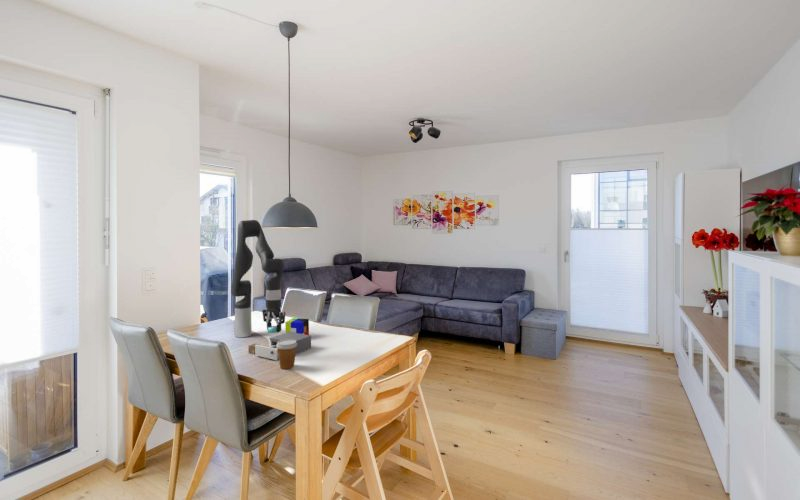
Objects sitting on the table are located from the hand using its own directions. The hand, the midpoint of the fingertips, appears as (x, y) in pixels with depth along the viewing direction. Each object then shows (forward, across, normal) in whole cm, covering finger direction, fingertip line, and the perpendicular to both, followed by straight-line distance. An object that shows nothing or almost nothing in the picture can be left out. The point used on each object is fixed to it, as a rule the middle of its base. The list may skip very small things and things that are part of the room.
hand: (274, 330), depth 202 cm
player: (+13, 0, +12) cm, 17 cm away
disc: (0, 0, 0) cm, 0 cm away
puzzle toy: (+13, -14, +32) cm, 37 cm away
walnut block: (+13, -13, -1) cm, 18 cm away
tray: (+12, 0, +1) cm, 12 cm away
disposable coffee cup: (+13, +17, -8) cm, 23 cm away
